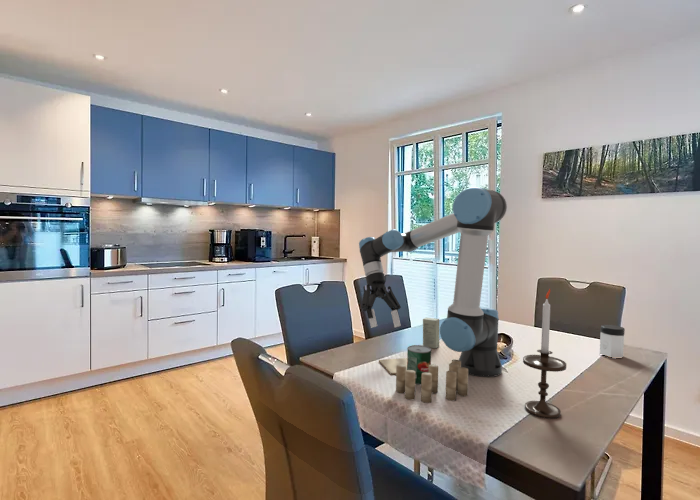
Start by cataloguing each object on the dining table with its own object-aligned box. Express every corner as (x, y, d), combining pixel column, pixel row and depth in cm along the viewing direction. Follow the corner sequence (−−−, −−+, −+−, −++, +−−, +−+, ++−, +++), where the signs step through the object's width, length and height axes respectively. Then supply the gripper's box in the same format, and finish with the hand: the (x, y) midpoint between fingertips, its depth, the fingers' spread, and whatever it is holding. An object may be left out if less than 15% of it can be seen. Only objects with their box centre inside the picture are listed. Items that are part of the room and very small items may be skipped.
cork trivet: (412, 359, 151) (413, 357, 151) (428, 371, 138) (428, 370, 138) (378, 361, 148) (378, 359, 148) (390, 374, 135) (391, 373, 135)
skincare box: (439, 346, 169) (440, 318, 168) (436, 348, 165) (436, 320, 164) (425, 343, 172) (426, 316, 171) (422, 346, 168) (422, 318, 168)
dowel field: (460, 383, 128) (461, 359, 127) (473, 404, 112) (474, 377, 112) (393, 381, 129) (394, 358, 128) (398, 402, 113) (398, 375, 113)
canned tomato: (409, 374, 135) (410, 343, 134) (432, 378, 132) (433, 346, 131) (404, 382, 128) (404, 350, 127) (427, 386, 125) (428, 353, 124)
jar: (593, 353, 162) (595, 325, 161) (606, 351, 165) (608, 323, 164) (615, 360, 153) (617, 330, 153) (628, 357, 157) (630, 328, 156)
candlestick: (571, 413, 108) (577, 289, 106) (551, 424, 101) (557, 292, 100) (534, 399, 116) (538, 284, 115) (513, 408, 110) (518, 287, 108)
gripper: (388, 280, 165) (399, 329, 157) (345, 275, 148) (356, 329, 140) (401, 274, 160) (413, 324, 153) (359, 268, 144) (370, 324, 136)
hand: (386, 326), depth 147 cm, fingers open, 13 cm apart
